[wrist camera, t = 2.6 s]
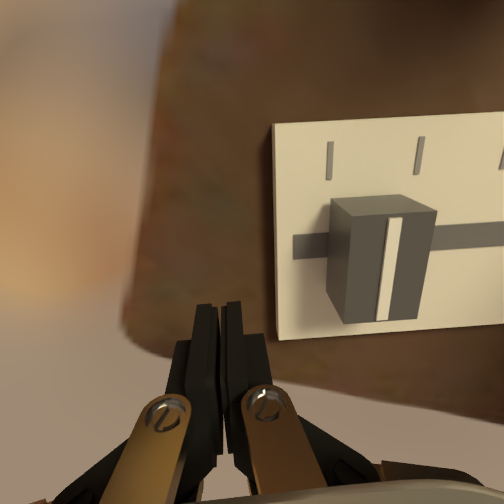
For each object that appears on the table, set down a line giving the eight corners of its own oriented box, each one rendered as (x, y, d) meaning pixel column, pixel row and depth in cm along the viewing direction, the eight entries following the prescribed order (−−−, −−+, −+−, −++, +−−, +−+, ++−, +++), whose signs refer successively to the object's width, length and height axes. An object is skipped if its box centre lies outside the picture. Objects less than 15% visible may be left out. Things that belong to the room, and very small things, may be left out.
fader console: (708, 100, 19) (750, 98, 17) (612, 302, 24) (637, 314, 23) (271, 123, 18) (275, 124, 16) (276, 327, 23) (279, 341, 22)
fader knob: (400, 193, 18) (439, 211, 14) (387, 286, 20) (418, 320, 17) (330, 198, 18) (353, 217, 14) (325, 291, 20) (344, 326, 17)
